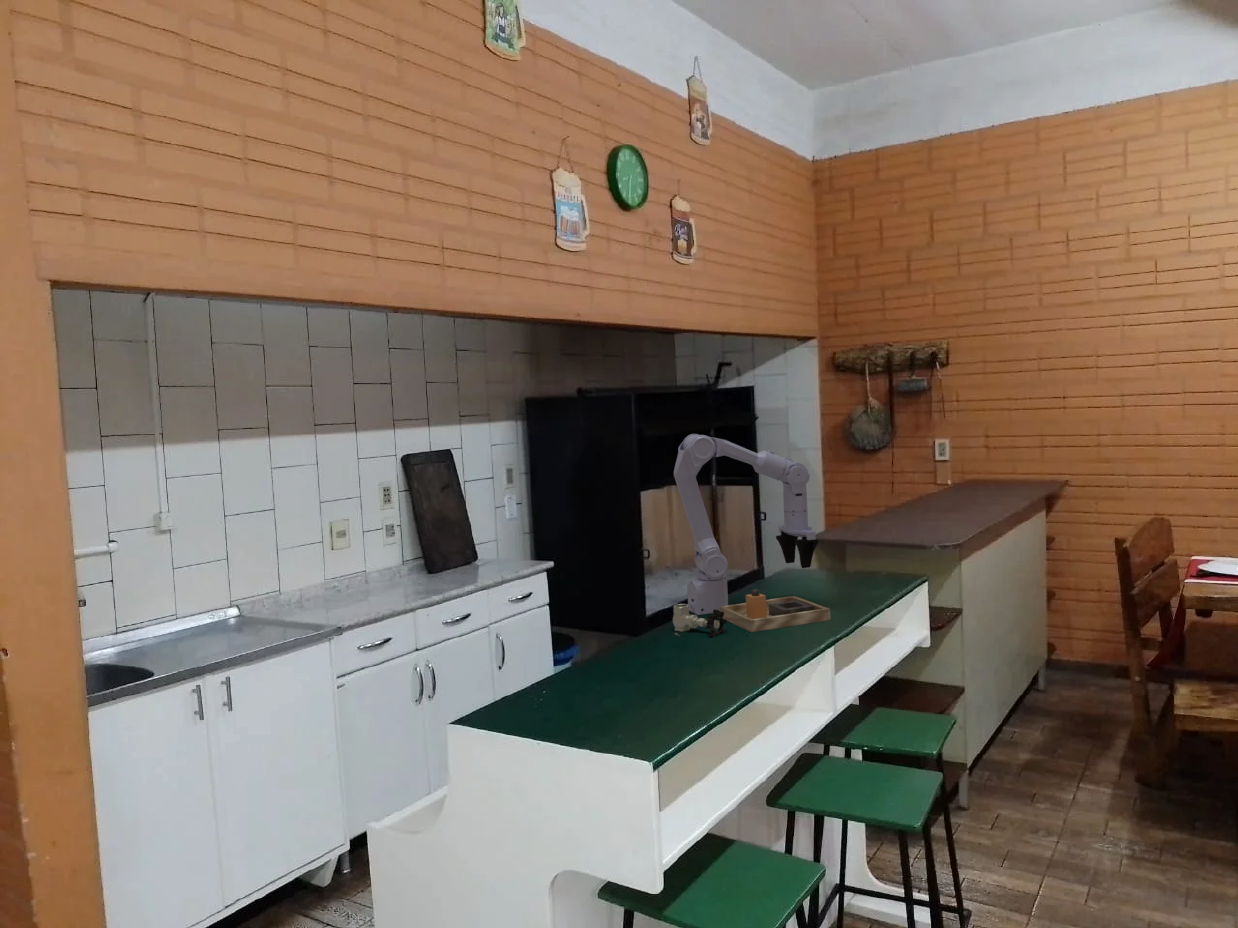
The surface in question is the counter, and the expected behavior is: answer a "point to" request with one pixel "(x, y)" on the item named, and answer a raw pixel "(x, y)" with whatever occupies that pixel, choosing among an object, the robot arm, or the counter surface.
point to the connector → (756, 605)
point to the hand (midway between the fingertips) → (797, 565)
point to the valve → (697, 620)
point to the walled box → (777, 614)
